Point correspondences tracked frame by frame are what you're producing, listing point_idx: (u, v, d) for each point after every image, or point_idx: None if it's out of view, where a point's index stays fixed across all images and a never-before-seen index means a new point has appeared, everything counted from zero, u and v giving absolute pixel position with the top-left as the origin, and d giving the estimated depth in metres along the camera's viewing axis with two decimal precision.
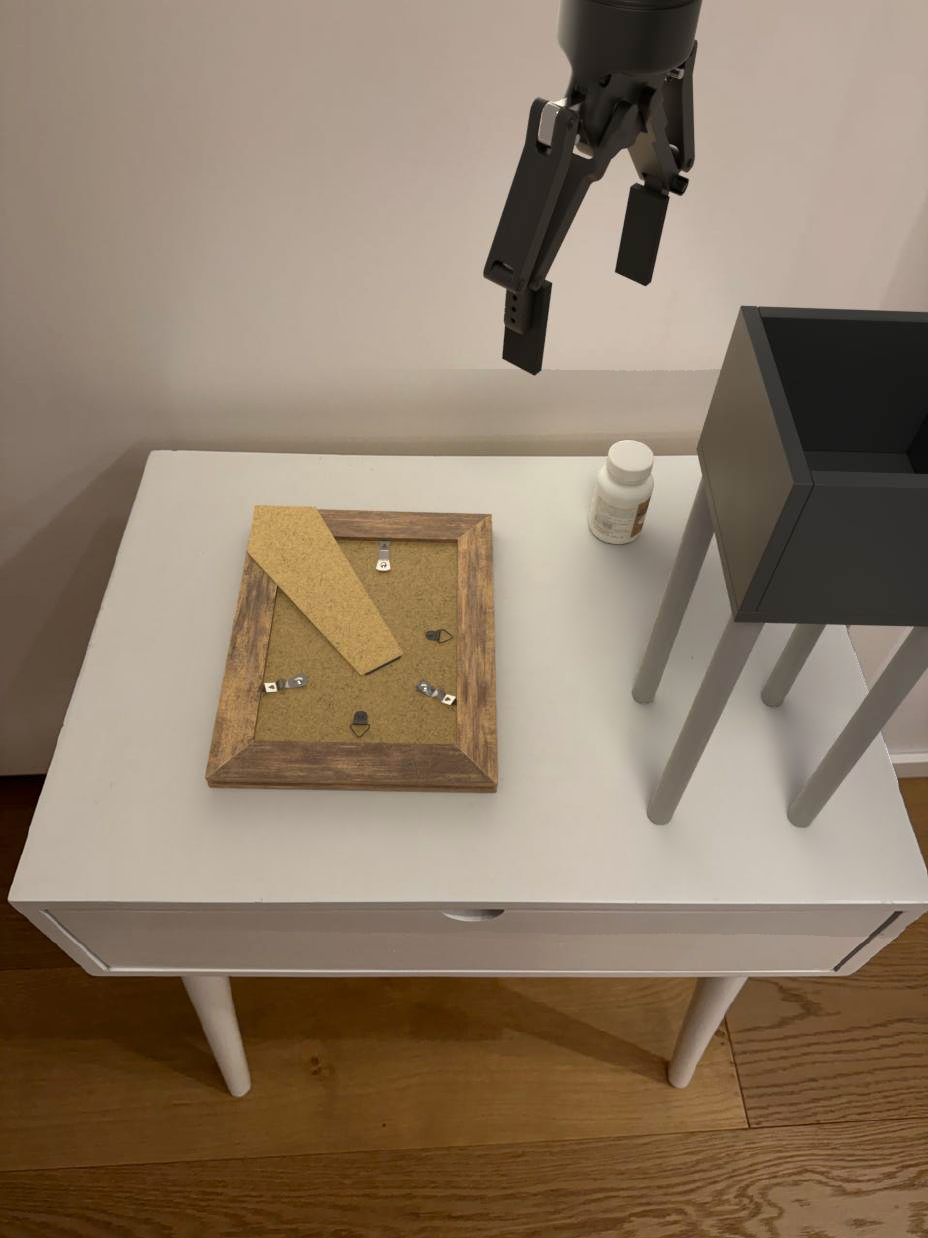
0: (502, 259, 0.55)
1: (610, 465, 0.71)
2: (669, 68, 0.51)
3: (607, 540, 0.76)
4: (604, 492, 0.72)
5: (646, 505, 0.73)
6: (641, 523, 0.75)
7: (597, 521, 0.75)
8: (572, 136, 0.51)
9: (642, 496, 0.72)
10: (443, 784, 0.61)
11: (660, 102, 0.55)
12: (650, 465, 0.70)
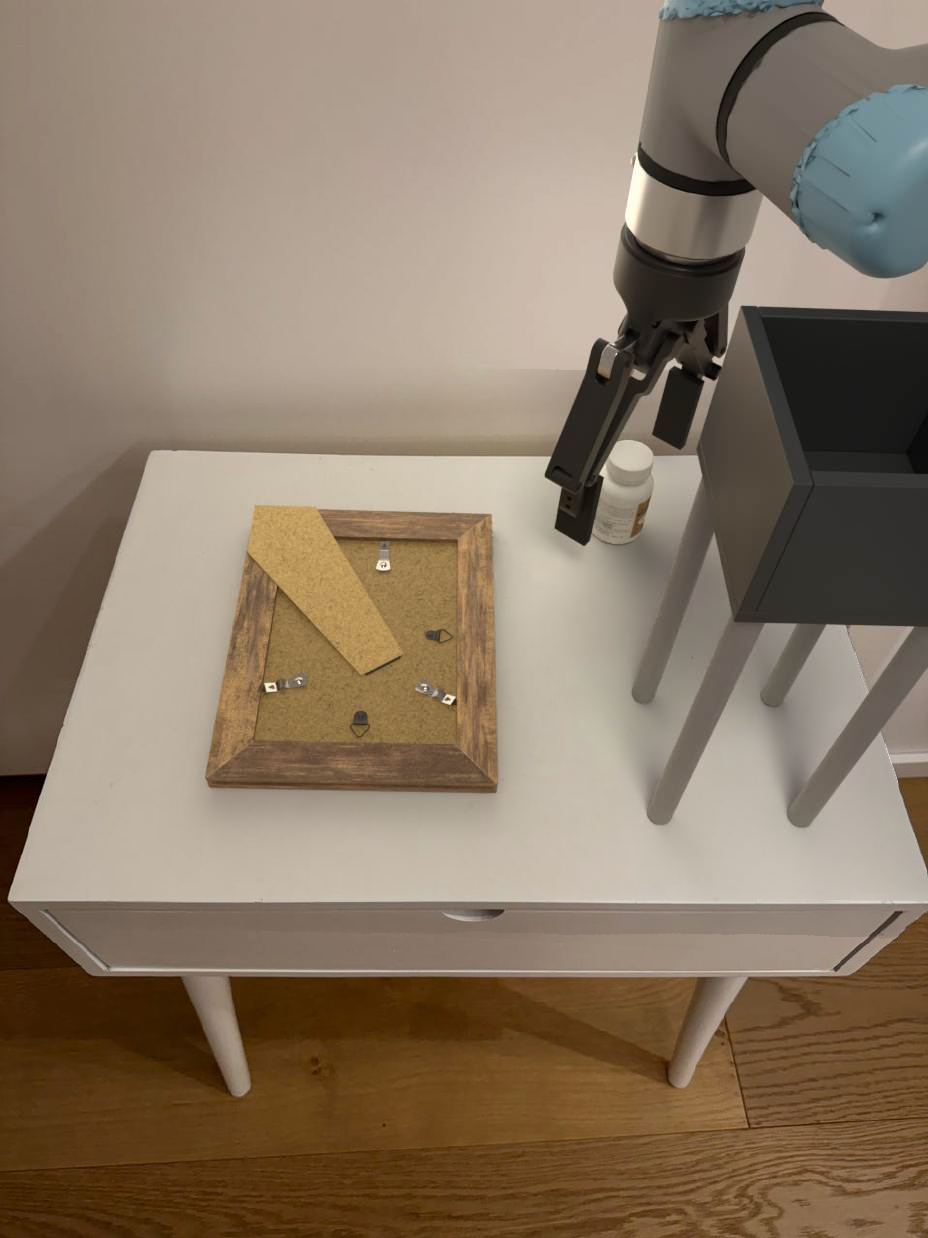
0: (562, 466, 0.62)
1: (610, 465, 0.71)
2: (713, 314, 0.58)
3: (607, 540, 0.76)
4: (604, 492, 0.72)
5: (646, 505, 0.73)
6: (641, 523, 0.75)
7: (597, 521, 0.75)
8: (628, 372, 0.58)
9: (642, 496, 0.72)
10: (443, 784, 0.61)
11: (702, 326, 0.63)
12: (650, 465, 0.70)
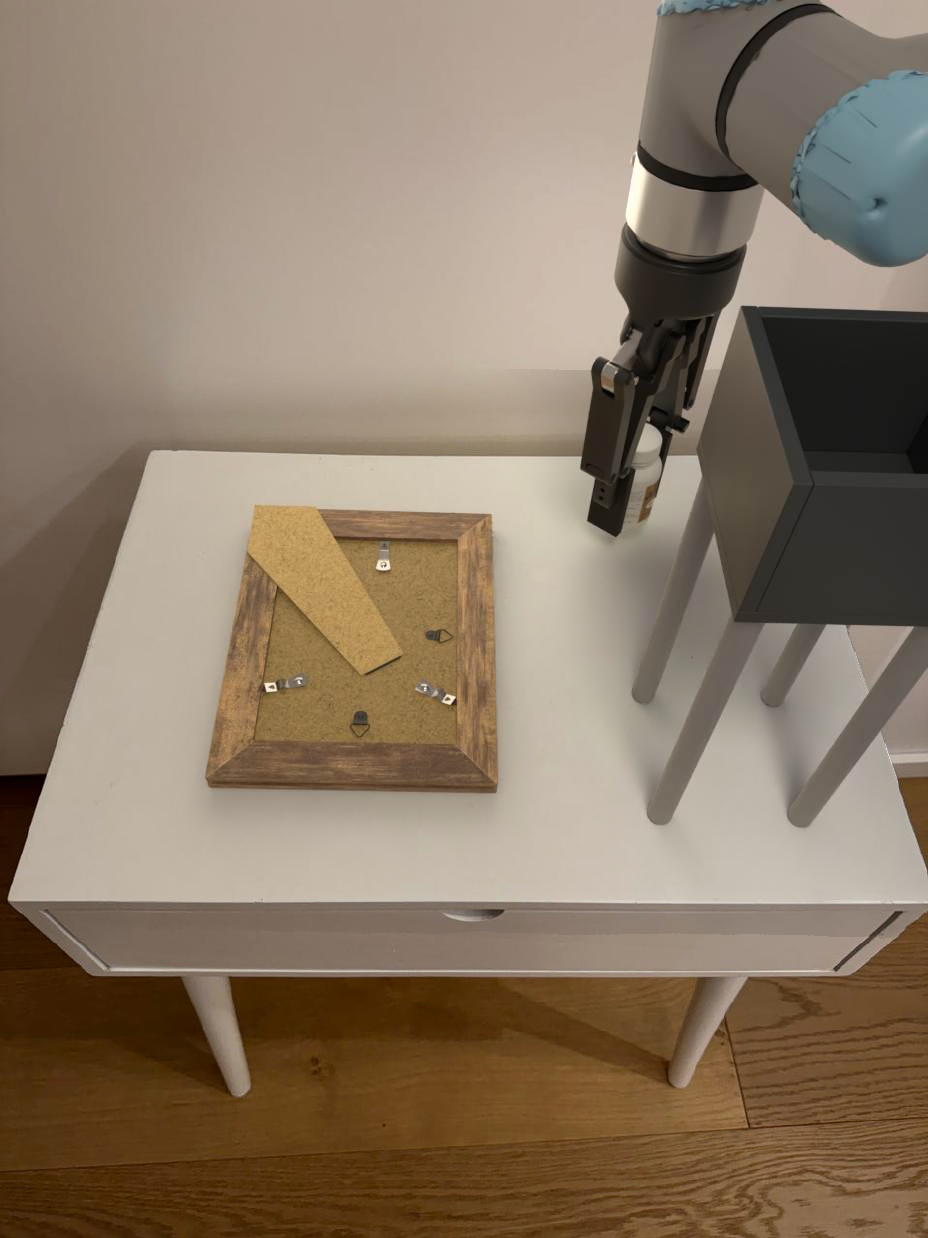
0: (593, 463, 0.65)
1: None
2: (716, 312, 0.58)
3: None
4: None
5: (654, 488, 0.71)
6: (649, 507, 0.73)
7: None
8: (631, 385, 0.59)
9: (650, 478, 0.70)
10: (443, 784, 0.61)
11: (702, 331, 0.62)
12: (658, 446, 0.69)
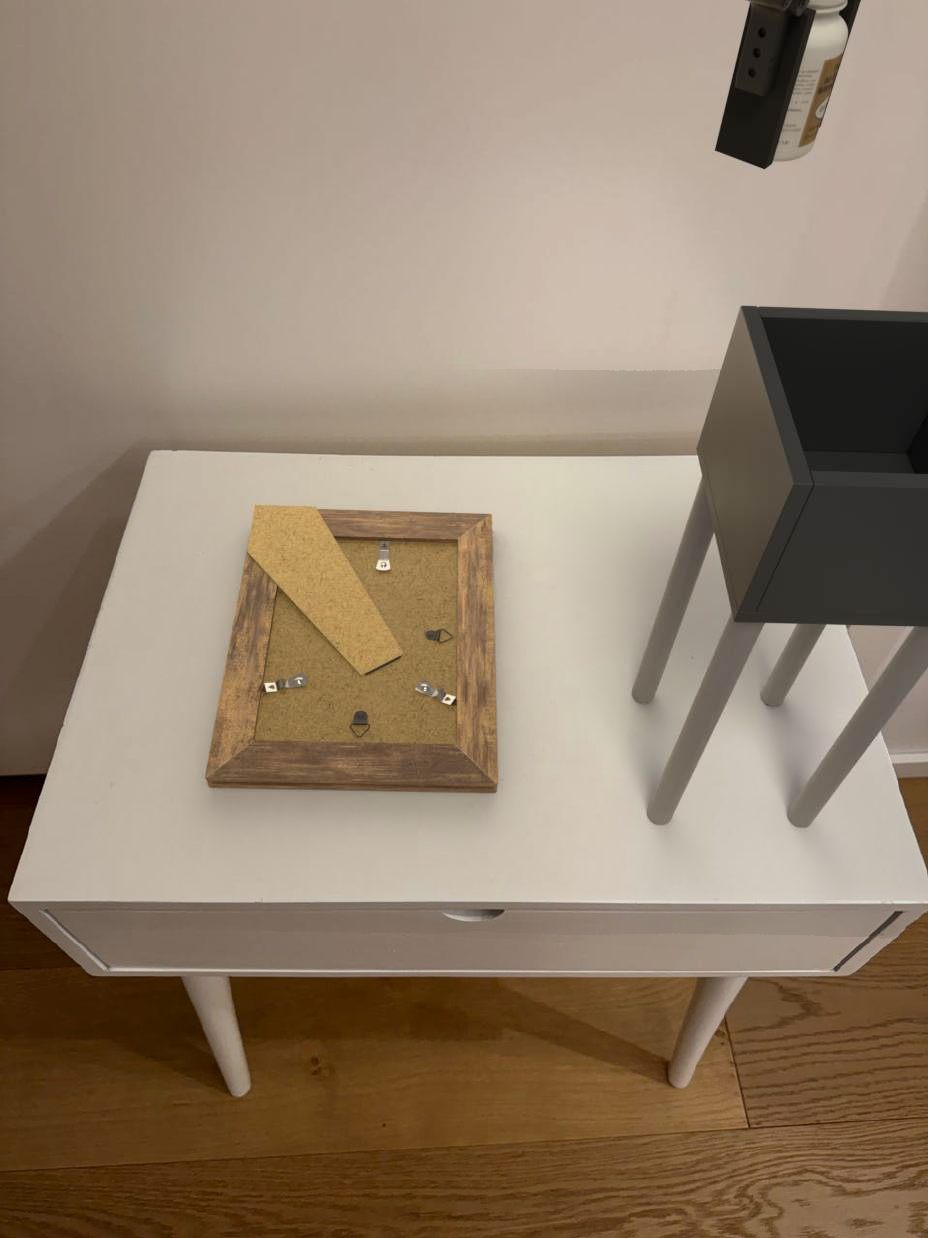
0: None
1: None
2: None
3: None
4: None
5: (833, 72, 0.43)
6: (819, 118, 0.45)
7: None
8: None
9: (832, 42, 0.42)
10: (443, 784, 0.61)
11: None
12: None
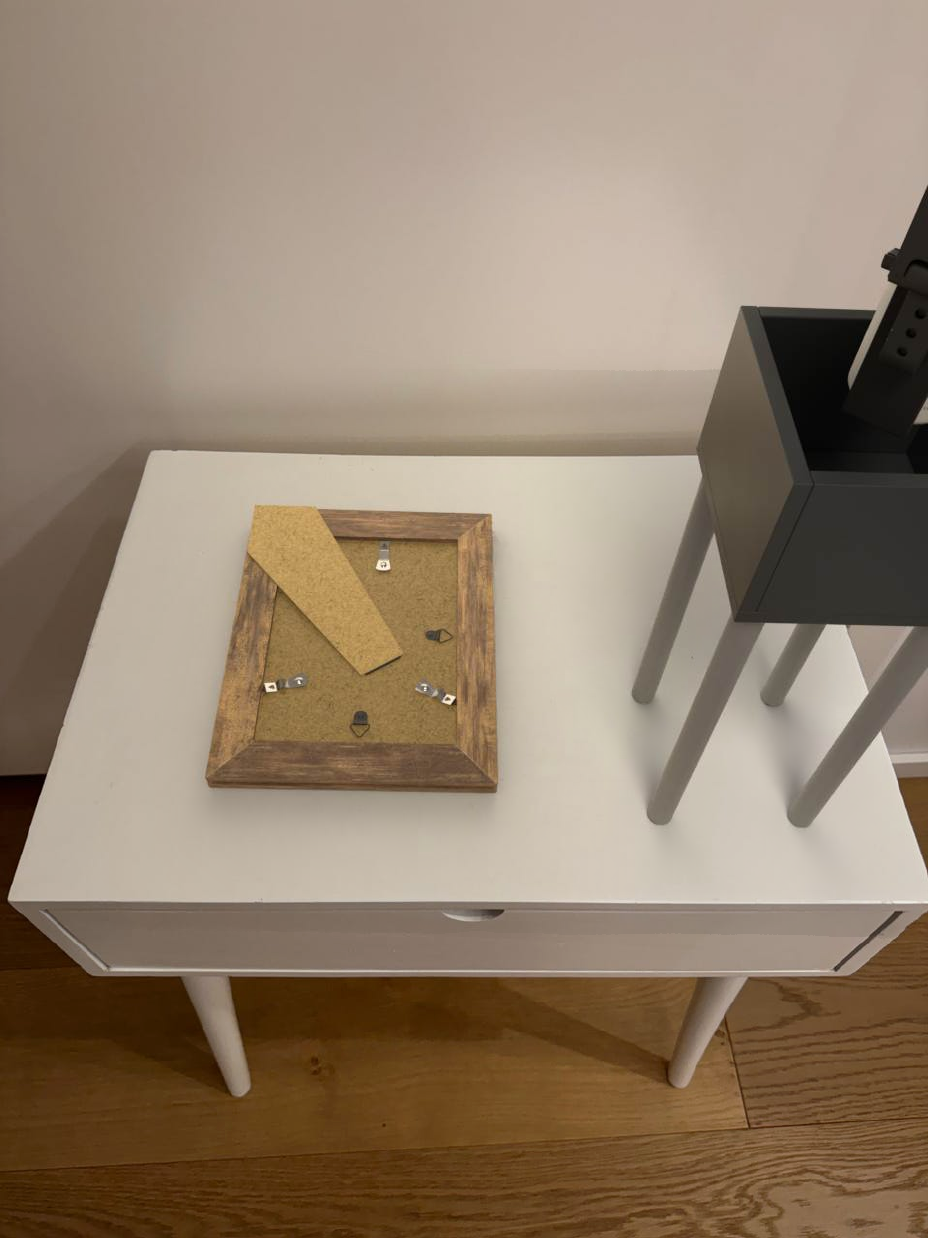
0: None
1: None
2: None
3: None
4: None
5: None
6: None
7: None
8: None
9: None
10: (443, 784, 0.61)
11: None
12: None
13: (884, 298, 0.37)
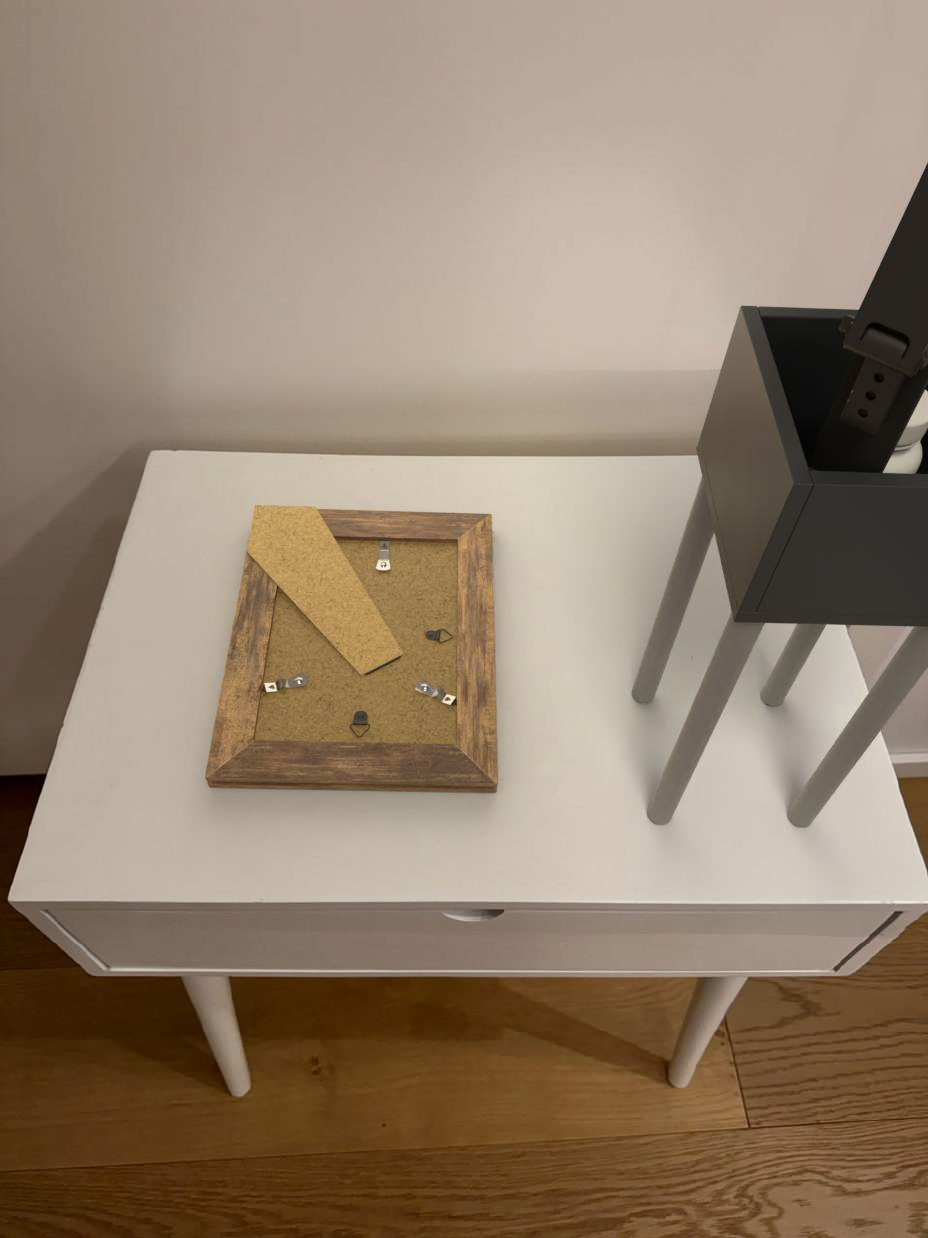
0: (887, 321, 0.31)
1: None
2: None
3: None
4: None
5: None
6: None
7: None
8: None
9: (909, 471, 0.41)
10: (443, 784, 0.61)
11: None
12: None
13: None
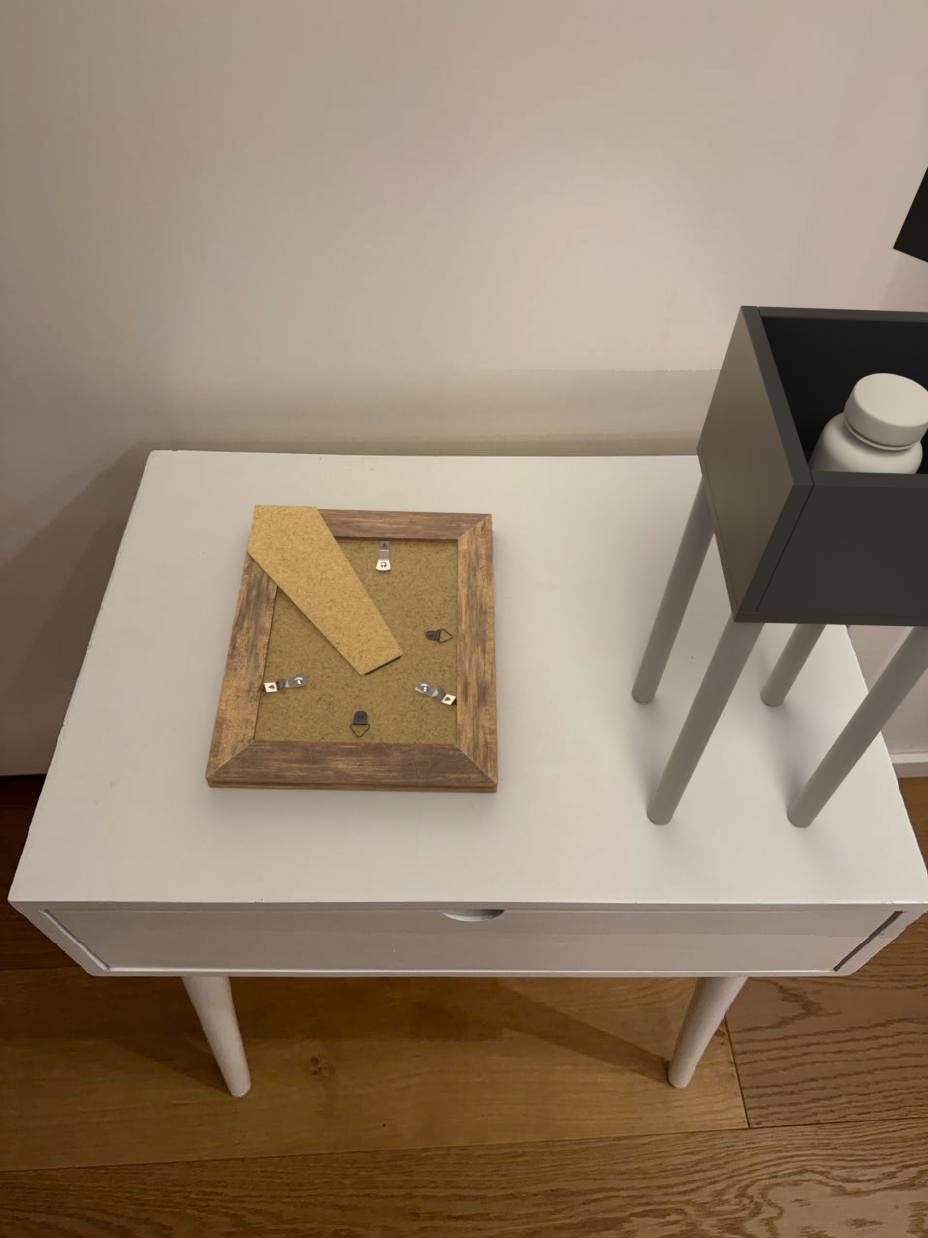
0: None
1: (860, 417, 0.40)
2: None
3: None
4: (840, 464, 0.42)
5: None
6: None
7: None
8: None
9: (909, 471, 0.41)
10: (443, 784, 0.61)
11: None
12: None
13: (815, 451, 0.43)
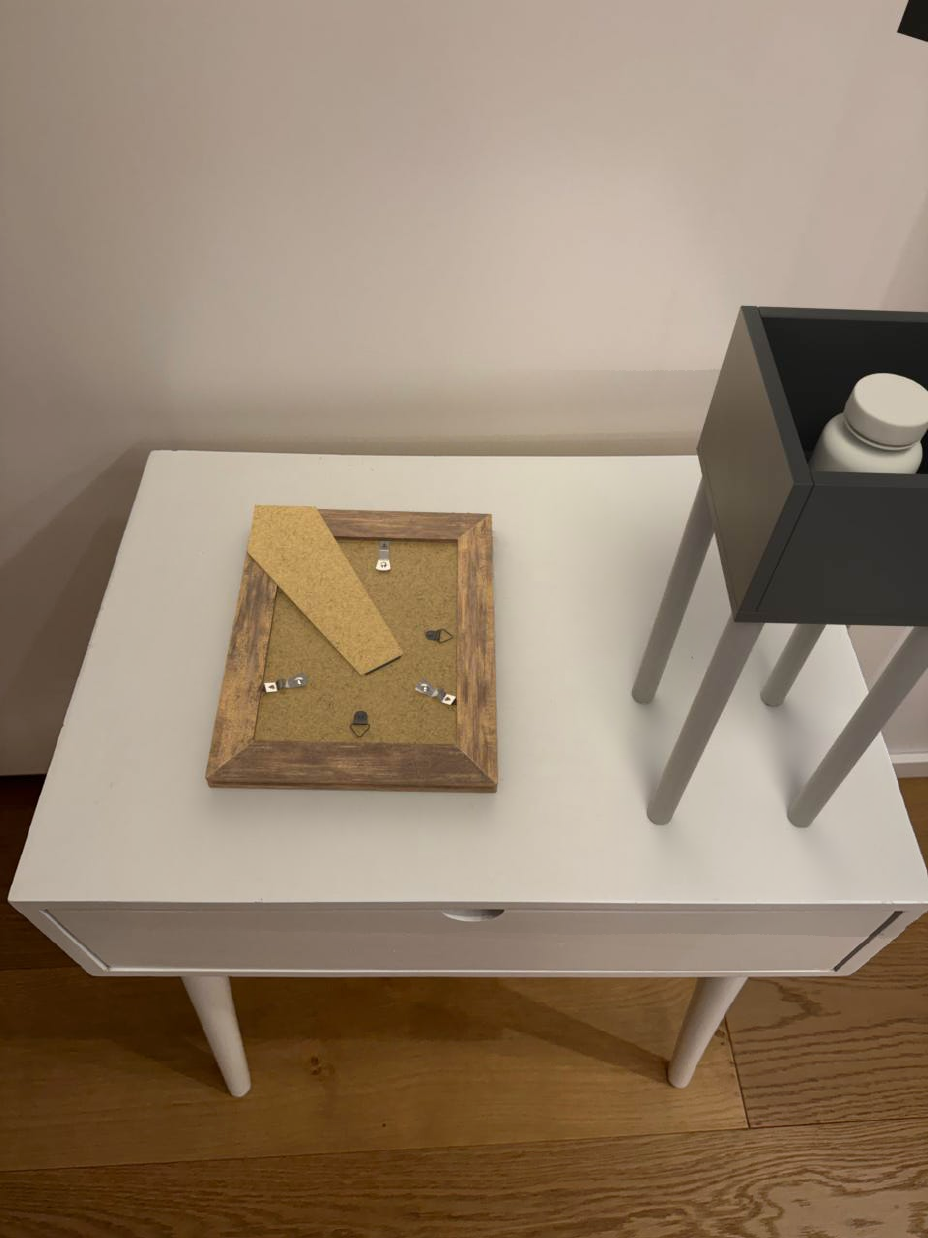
0: None
1: (860, 417, 0.40)
2: None
3: None
4: (840, 464, 0.42)
5: None
6: None
7: None
8: None
9: (909, 471, 0.41)
10: (443, 784, 0.61)
11: None
12: None
13: (816, 451, 0.43)
